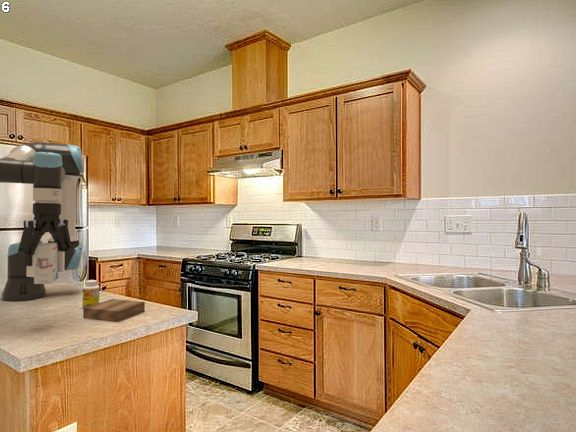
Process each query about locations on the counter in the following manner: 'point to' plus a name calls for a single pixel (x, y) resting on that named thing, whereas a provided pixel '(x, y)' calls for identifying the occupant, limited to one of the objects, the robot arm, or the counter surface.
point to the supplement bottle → (90, 293)
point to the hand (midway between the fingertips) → (46, 273)
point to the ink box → (46, 263)
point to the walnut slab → (113, 310)
